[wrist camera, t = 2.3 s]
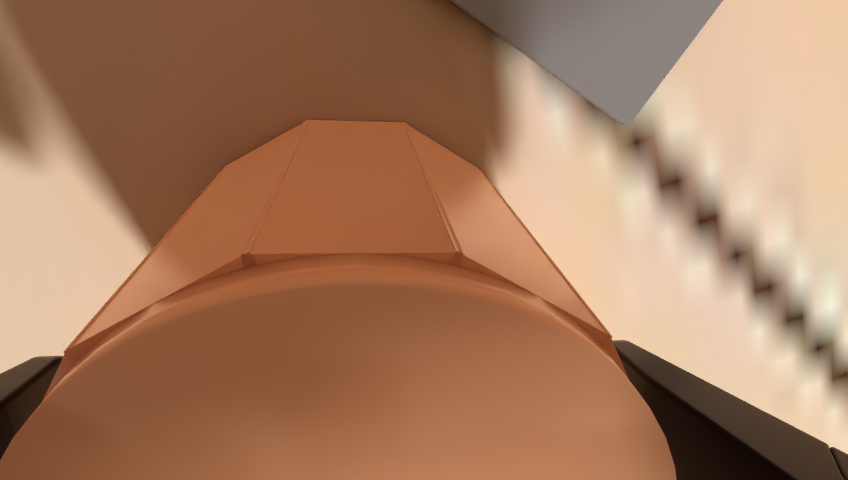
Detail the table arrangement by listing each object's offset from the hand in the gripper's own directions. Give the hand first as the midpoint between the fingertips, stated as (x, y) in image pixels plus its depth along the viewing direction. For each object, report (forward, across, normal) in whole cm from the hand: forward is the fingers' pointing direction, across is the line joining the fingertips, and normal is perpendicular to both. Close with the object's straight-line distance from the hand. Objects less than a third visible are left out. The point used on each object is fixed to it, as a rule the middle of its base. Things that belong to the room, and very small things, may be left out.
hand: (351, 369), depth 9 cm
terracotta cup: (+3, 0, 0) cm, 3 cm away
